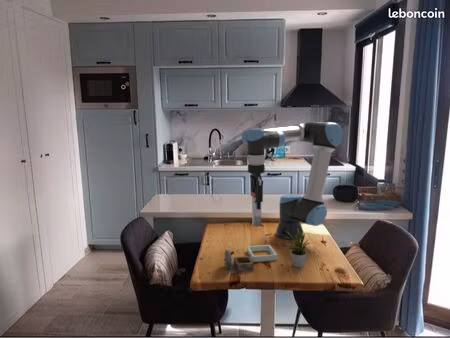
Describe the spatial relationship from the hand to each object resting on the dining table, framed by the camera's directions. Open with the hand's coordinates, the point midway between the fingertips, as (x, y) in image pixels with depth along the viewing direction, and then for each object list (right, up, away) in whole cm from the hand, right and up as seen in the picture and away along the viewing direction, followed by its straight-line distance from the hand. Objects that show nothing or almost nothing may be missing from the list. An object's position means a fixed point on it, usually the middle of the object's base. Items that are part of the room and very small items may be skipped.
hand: (256, 213), depth 154 cm
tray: (+3, -22, +8) cm, 24 cm away
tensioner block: (-8, -25, -3) cm, 26 cm away
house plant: (+19, -24, +3) cm, 30 cm away
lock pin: (0, -5, +1) cm, 5 cm away
